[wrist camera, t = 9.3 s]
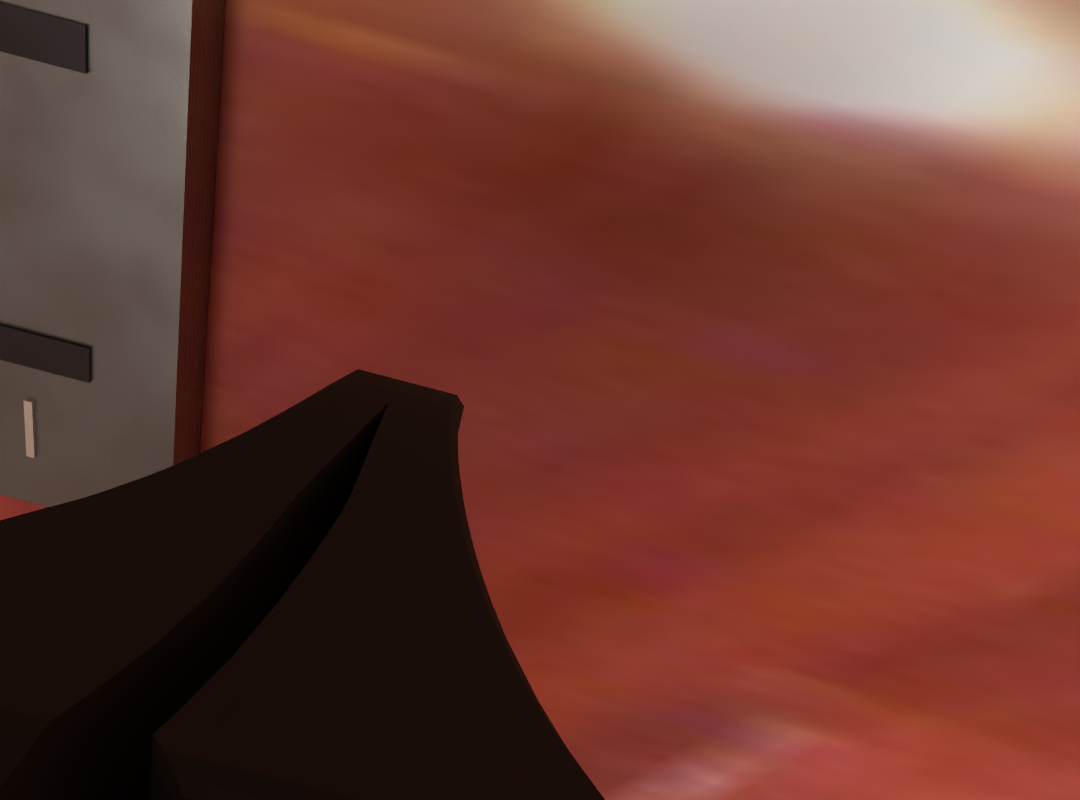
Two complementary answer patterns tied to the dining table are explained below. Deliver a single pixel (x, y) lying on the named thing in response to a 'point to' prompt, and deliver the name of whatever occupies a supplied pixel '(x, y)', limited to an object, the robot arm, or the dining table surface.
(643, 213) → the dining table surface
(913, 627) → the dining table surface
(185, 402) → the mixing console
